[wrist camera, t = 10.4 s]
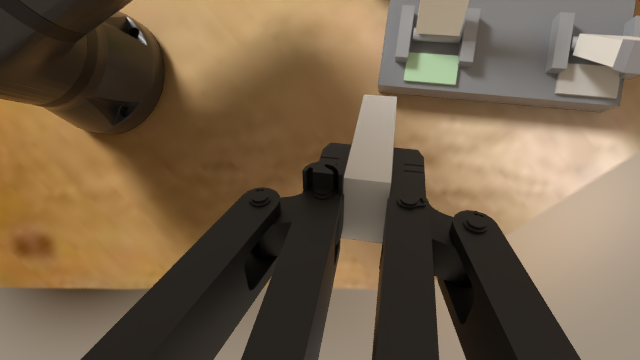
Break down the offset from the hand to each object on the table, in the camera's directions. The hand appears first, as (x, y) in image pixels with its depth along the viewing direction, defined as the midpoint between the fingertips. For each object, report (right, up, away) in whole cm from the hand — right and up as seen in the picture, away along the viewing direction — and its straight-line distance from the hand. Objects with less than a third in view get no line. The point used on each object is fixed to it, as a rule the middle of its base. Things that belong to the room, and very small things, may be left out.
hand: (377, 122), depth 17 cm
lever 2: (+22, +9, +16) cm, 29 cm away
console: (+15, +12, +21) cm, 29 cm away
